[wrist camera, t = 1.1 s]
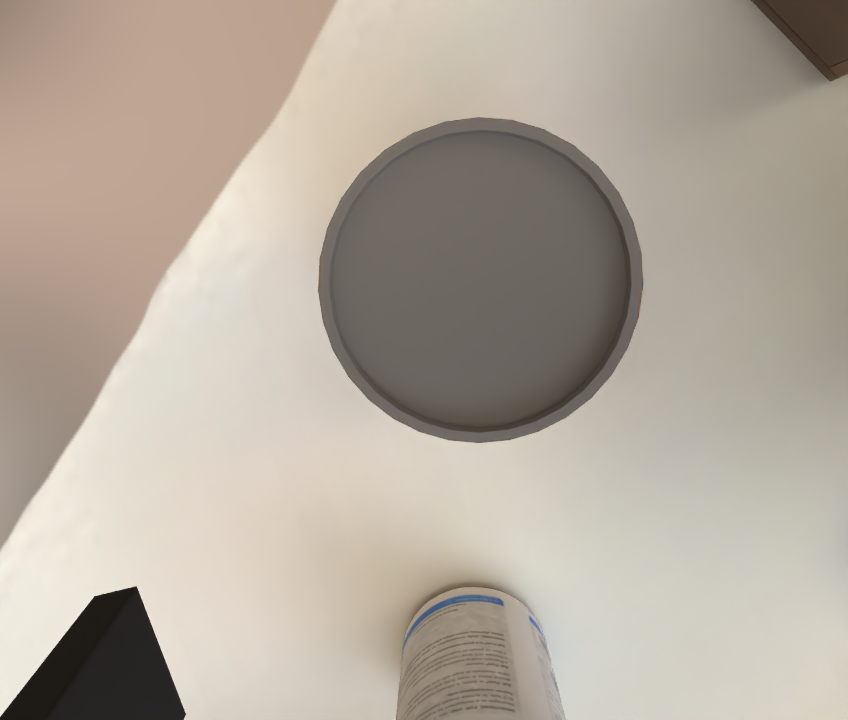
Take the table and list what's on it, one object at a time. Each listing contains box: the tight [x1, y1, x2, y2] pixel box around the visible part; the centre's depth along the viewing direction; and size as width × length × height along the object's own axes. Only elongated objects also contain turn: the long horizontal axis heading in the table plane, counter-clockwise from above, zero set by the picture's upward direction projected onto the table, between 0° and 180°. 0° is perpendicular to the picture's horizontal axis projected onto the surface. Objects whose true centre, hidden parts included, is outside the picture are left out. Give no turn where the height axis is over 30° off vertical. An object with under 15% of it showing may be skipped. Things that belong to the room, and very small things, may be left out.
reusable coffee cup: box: [318, 117, 643, 443], centre depth 31 cm, size 13×12×15 cm
